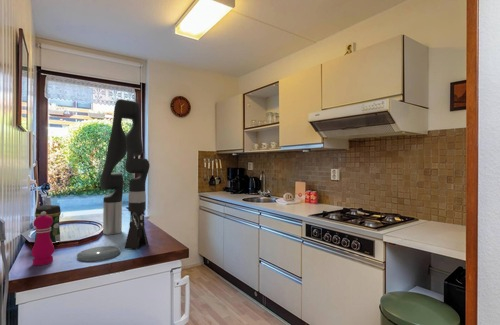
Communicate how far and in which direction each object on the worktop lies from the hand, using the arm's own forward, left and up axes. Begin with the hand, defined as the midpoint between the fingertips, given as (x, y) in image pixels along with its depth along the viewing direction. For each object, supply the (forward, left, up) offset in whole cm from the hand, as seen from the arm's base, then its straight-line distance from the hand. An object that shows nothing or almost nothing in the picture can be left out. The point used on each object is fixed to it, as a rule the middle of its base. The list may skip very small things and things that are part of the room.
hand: (136, 235), depth 128 cm
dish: (+3, -16, -5) cm, 17 cm away
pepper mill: (0, -35, -5) cm, 35 cm away
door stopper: (0, 0, -5) cm, 5 cm away
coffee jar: (-28, -33, -5) cm, 44 cm away
